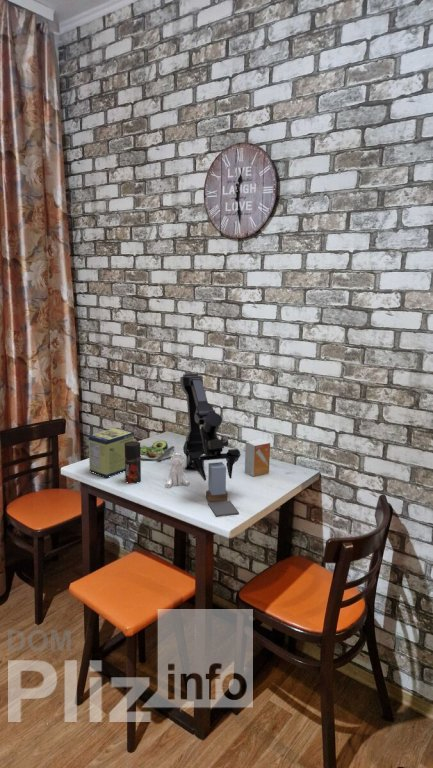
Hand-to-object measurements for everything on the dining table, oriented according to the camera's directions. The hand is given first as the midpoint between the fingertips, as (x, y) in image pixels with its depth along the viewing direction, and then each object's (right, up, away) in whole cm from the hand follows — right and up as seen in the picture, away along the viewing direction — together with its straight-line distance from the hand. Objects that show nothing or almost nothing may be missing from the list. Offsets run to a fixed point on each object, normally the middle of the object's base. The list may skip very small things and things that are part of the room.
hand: (218, 479), depth 184 cm
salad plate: (-28, +2, +50) cm, 58 cm away
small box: (+16, -3, +29) cm, 34 cm away
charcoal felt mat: (+2, -9, -5) cm, 11 cm away
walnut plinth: (0, -8, +3) cm, 8 cm away
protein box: (-43, -2, +30) cm, 52 cm away
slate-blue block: (0, -5, +2) cm, 5 cm away
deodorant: (-33, -4, +19) cm, 38 cm away
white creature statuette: (-16, -5, +17) cm, 24 cm away
